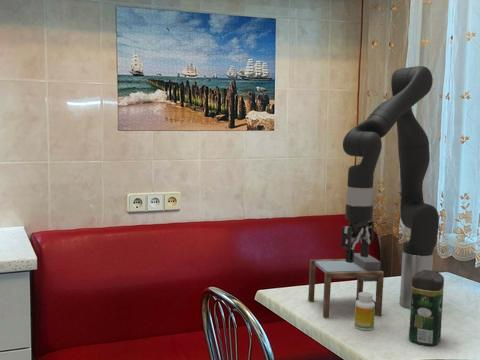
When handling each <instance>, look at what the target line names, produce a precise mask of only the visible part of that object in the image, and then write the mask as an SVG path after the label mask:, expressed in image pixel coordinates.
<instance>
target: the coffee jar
mask: <svg viewBox="0 0 480 360" xmlns="http://www.w3.org/2000/svg"><path fill="white" fill-rule="evenodd" d="M444 283H445V279H444V276H443V274H441V273H440V272H439V271H437V270H432V271H431V270H423V271H420V272H417V273H416V274H415V275H414V276H413V277H412V290H411V309H410V314H409V316H410V317H409V326H408V327H409V329H408V330H409V332H408V338H409V340H410V341H412V342H414V343H416V344H419V345H423V346H427V345H429V346H435V345H437V344H438V343H439V342H440V339H441V337H442V336H441V335H442V320H443V319H442V315H443V302H444V301H443V300H444V299H443V298H444V286H445V285H444Z"/></svg>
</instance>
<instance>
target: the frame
mask: <svg viewBox="0 0 480 360" xmlns="http://www.w3.org/2000/svg"><path fill="white" fill-rule="evenodd" d="M315 261H345V258H330V259H329V258H327V259H322V258H321V259H309V274H308V295H307V296H308V298H307V299H308V300H307V301H308V302H310V303H311V302H312V303H314V302H315V291H316V290H315V289H316V287H315V286H316V267H317V266H316V265H315ZM384 274H385V272H384V271H383V270H380V271H355V272H325V273H324V280H323V282H324V283H323V302H322V303H323V305H322V317H323V319H330V313H331V312H330V307H331V290H332V289H331V288H332V287H331V284H332V280H333V279H355V278H356V297H355V299H356V301H357V300H359V299H358V294H359V293H360V292H364V281H363V280H361V279H360V278H370V277H377V281H375V282H376V283H375V284H376V286H375V300H374V299H373V300H372V301H373V302H374V304H375V313H374V316H376V317H382V312H383V299H384V297H383V296H384V295H383V293H384V279H385V278H384V277H385V275H384Z"/></svg>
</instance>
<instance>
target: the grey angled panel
mask: <svg viewBox="0 0 480 360" xmlns="http://www.w3.org/2000/svg"><path fill="white" fill-rule="evenodd" d="M381 264H382V262H381V261H380V260H378V259H377V258H375V257H374V256H371V255H370V254H369V253H368V257H361V256H360V252H358V253H357V252H354V262H353V263H348V262H346V261H315V265H316V267H317V268H318V269H320V270H321V271H322V272H323V273H324V274H325V272H355V271H381ZM360 279H361V280H363V283H365V282H377V277H370V278H360Z"/></svg>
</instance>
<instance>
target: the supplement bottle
mask: <svg viewBox="0 0 480 360" xmlns="http://www.w3.org/2000/svg"><path fill="white" fill-rule="evenodd" d="M373 298H374V295H373V293H371V292H367V291H363V292H360V293H359V294H358V299H359V300H357V299H356V301H355V306H354V308H355V309H354V321H353V322H354V327H355V328H356V329H357V330H360V331H371V330H373V329H374V326H375V304H374V302H373V301H372V300H374V299H373Z"/></svg>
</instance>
